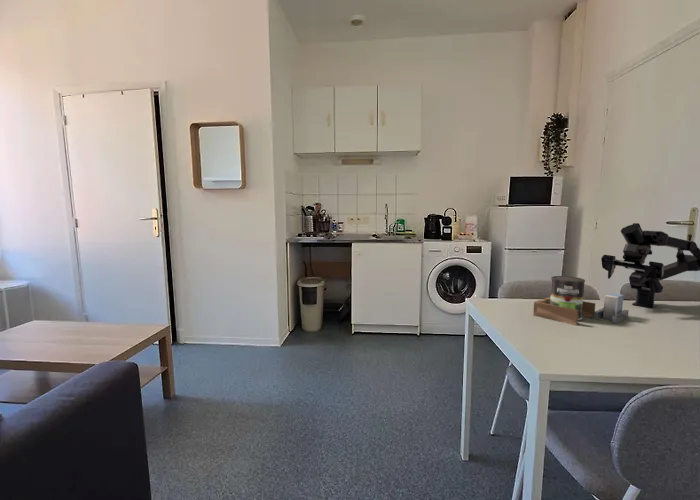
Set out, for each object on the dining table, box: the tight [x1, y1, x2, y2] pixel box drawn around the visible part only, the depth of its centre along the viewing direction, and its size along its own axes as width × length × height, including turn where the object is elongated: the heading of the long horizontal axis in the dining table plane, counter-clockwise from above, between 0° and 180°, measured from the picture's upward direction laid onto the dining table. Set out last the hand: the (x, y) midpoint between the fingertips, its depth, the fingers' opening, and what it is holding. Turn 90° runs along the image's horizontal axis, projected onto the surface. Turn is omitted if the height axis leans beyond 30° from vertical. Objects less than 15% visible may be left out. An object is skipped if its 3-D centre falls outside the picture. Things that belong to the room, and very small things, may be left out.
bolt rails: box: [592, 307, 630, 324], centre depth 126 cm, size 12×7×2 cm, turn 126°
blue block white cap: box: [602, 292, 624, 321], centre depth 127 cm, size 7×4×8 cm, turn 126°
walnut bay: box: [532, 296, 596, 326], centre depth 129 cm, size 15×14×5 cm
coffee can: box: [550, 275, 586, 321], centre depth 128 cm, size 10×10×14 cm
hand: (623, 280), depth 132 cm, fingers open, 9 cm apart
